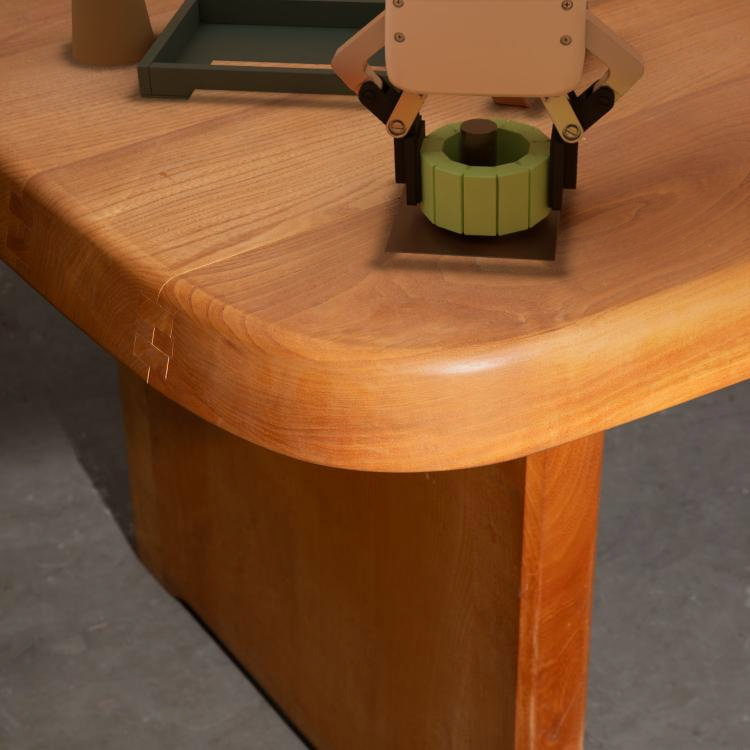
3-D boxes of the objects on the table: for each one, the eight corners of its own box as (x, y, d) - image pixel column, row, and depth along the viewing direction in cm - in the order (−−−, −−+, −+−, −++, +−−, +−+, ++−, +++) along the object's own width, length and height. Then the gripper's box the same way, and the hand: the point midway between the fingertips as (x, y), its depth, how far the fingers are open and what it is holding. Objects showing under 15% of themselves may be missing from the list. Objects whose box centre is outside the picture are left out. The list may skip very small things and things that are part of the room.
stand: (562, 199, 83) (568, 94, 80) (554, 280, 76) (559, 168, 72) (407, 192, 85) (406, 88, 81) (384, 270, 77) (381, 160, 74)
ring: (553, 177, 82) (555, 119, 80) (546, 238, 76) (548, 178, 74) (430, 173, 83) (429, 116, 81) (414, 233, 77) (412, 174, 75)
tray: (430, 34, 105) (430, -1, 103) (404, 114, 94) (403, 76, 92) (193, 26, 107) (190, -8, 106) (141, 103, 96) (136, 66, 95)
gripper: (671, -159, 71) (647, 170, 81) (321, -158, 73) (341, 160, 84) (672, -113, 65) (647, 236, 75) (291, -113, 67) (317, 224, 77)
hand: (486, 194), depth 79 cm, fingers closed on ring, 7 cm apart
